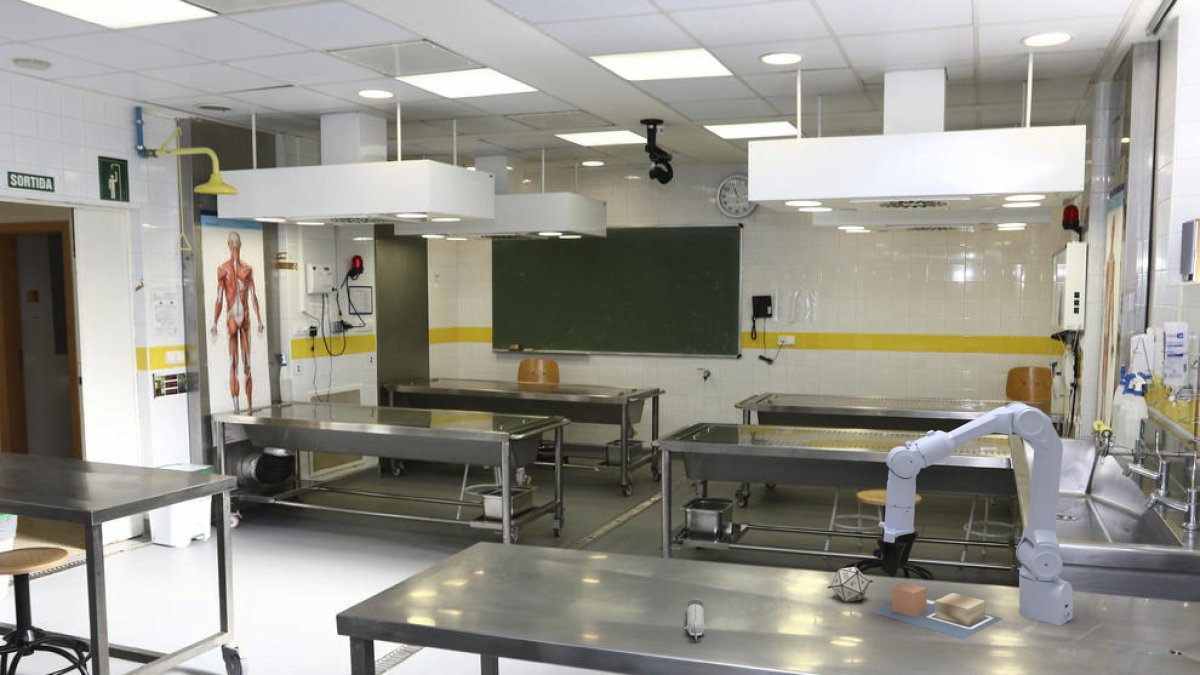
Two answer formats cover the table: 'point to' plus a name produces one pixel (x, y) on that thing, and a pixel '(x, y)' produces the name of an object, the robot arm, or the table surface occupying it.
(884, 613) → the board
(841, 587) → the game die
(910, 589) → the terracotta cube
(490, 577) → the table surface
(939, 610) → the beech block
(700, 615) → the torpedo
